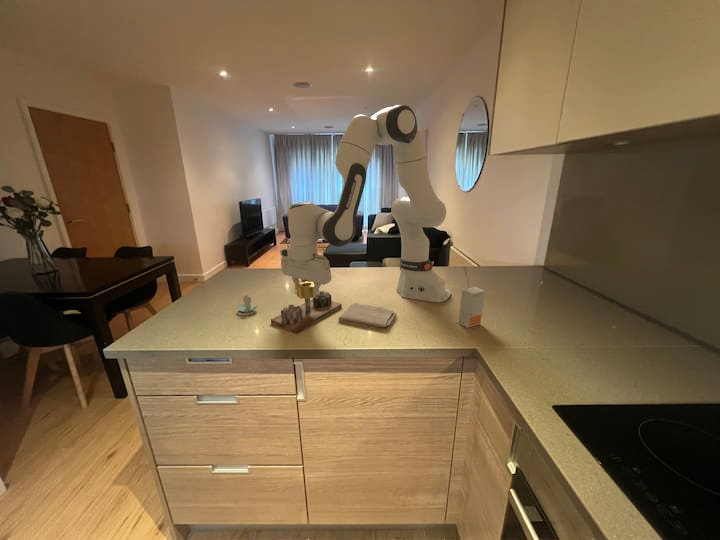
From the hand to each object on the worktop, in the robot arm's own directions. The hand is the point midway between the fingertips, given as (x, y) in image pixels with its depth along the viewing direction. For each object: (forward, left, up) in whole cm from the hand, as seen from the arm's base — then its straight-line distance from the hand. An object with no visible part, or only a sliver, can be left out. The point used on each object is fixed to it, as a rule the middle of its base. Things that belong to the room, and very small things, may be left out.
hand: (306, 291), depth 100 cm
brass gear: (0, 0, -2) cm, 2 cm away
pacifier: (+20, +11, -10) cm, 25 cm away
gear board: (0, 0, -9) cm, 9 cm away
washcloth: (-19, -9, -10) cm, 23 cm away
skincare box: (-49, -25, -9) cm, 56 cm away
